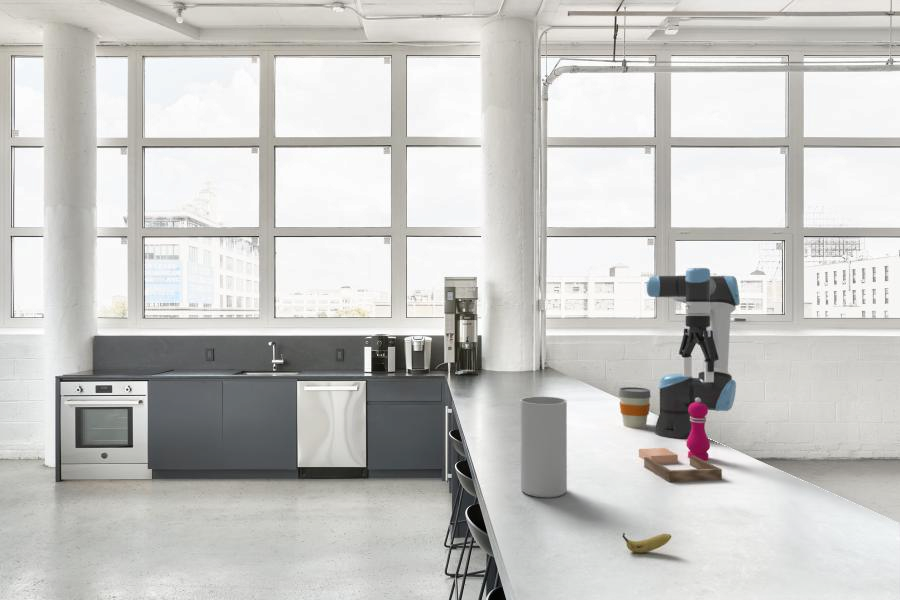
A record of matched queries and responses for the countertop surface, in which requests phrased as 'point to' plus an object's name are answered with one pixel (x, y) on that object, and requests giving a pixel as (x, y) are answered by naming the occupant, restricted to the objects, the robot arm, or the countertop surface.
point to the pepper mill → (698, 431)
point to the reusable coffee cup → (634, 406)
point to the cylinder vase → (544, 446)
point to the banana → (647, 543)
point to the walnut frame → (686, 471)
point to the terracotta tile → (659, 455)
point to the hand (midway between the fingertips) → (697, 379)
